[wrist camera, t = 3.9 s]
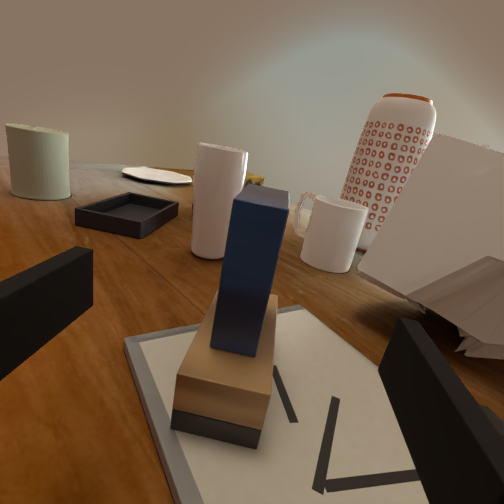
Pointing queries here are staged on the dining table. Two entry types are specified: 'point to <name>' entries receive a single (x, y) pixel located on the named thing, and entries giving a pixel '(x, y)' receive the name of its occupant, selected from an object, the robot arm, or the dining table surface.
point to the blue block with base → (236, 329)
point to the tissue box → (448, 242)
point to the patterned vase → (387, 156)
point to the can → (38, 162)
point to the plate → (157, 175)
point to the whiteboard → (284, 425)
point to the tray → (127, 214)
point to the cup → (330, 232)
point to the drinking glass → (215, 196)
